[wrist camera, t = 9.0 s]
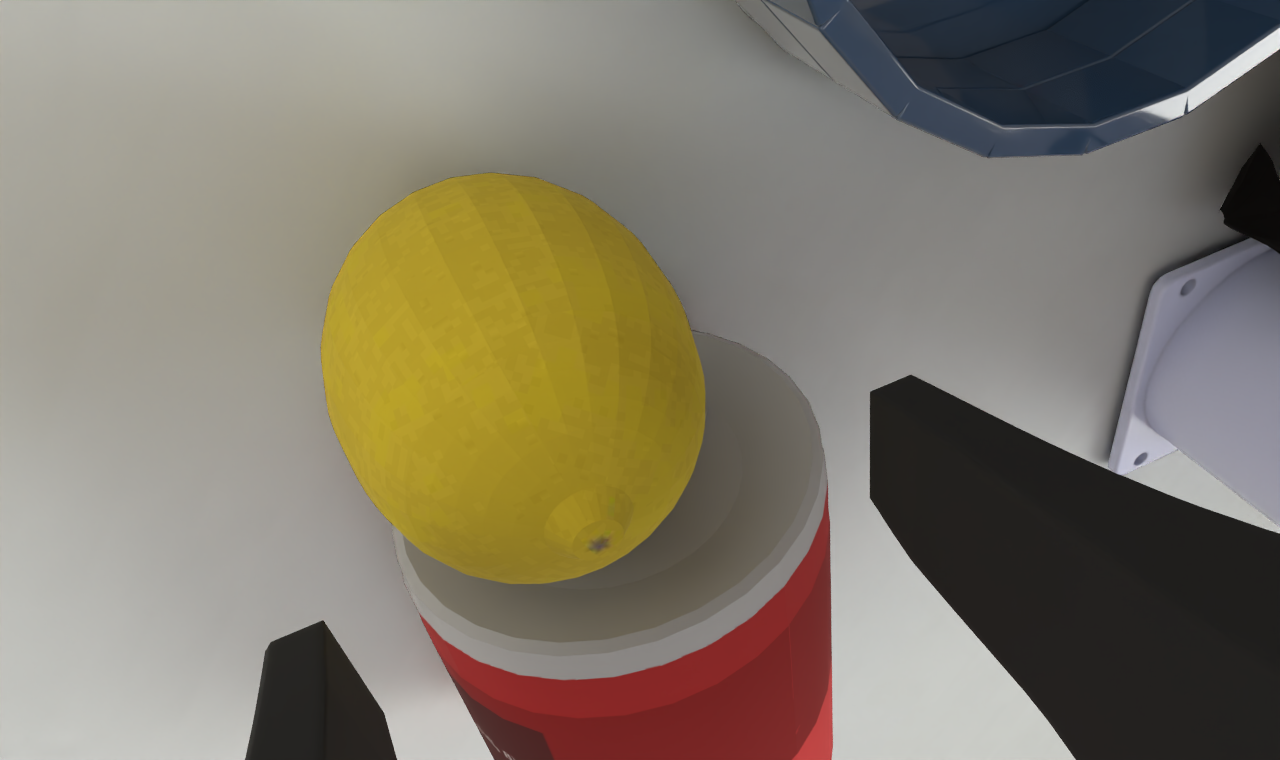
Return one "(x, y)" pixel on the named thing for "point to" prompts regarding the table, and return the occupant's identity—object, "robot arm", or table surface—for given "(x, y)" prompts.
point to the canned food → (668, 607)
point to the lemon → (512, 378)
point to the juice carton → (1255, 201)
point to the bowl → (1027, 63)
